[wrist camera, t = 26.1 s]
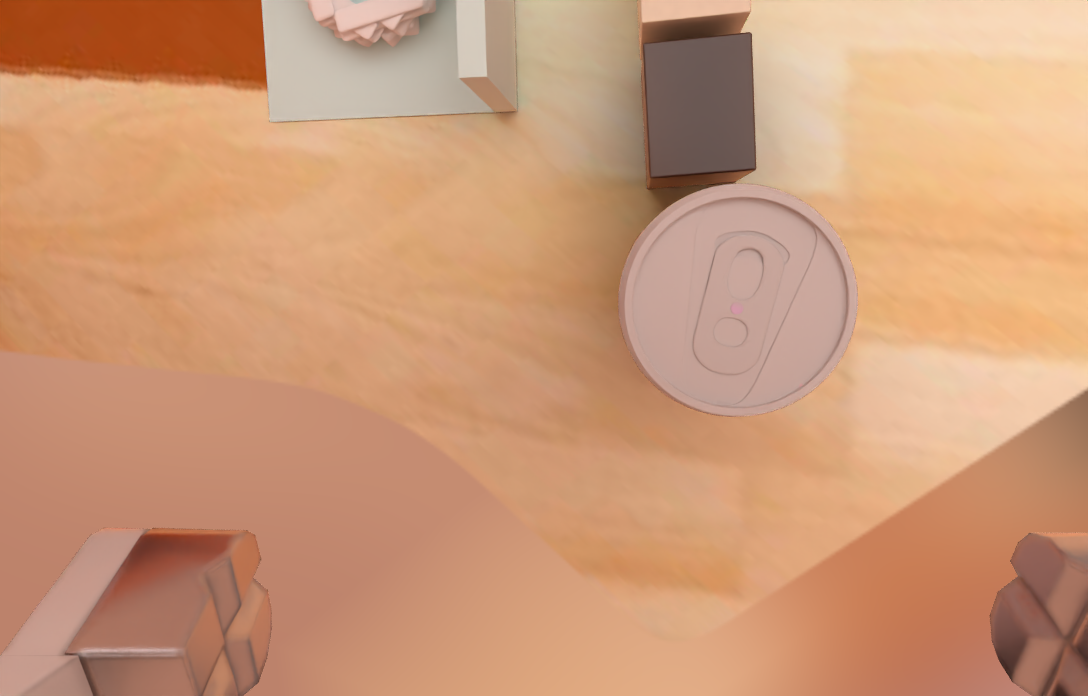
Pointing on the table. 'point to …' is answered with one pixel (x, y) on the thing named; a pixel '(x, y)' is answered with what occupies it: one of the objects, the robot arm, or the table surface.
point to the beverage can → (737, 300)
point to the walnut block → (698, 110)
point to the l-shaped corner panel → (388, 58)
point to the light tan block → (689, 19)
